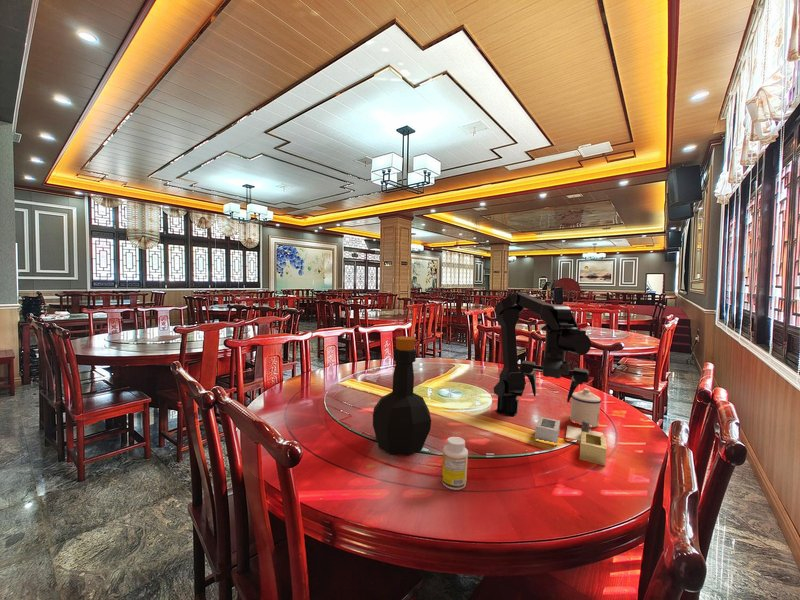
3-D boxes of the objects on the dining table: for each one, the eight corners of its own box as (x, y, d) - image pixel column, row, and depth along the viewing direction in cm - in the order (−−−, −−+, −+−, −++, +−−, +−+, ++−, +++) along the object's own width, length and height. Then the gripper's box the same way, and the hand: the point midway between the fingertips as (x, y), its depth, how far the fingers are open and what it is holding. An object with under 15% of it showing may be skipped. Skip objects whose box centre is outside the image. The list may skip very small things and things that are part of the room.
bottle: (363, 436, 105) (368, 333, 103) (416, 430, 110) (421, 332, 109) (380, 463, 90) (386, 343, 88) (439, 455, 96) (446, 342, 94)
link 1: (556, 446, 104) (557, 431, 104) (534, 441, 107) (535, 426, 107) (559, 435, 112) (560, 420, 112) (538, 430, 115) (539, 416, 115)
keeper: (565, 440, 108) (566, 423, 108) (567, 429, 117) (568, 413, 117) (603, 449, 104) (605, 431, 103) (602, 436, 113) (604, 420, 112)
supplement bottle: (449, 474, 86) (452, 432, 86) (470, 483, 83) (473, 440, 82) (436, 484, 82) (439, 440, 82) (457, 494, 79) (460, 448, 78)
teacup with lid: (604, 428, 119) (607, 394, 118) (576, 427, 119) (579, 392, 118) (586, 415, 131) (589, 383, 130) (561, 413, 131) (563, 381, 130)
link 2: (605, 465, 94) (606, 449, 94) (579, 459, 97) (580, 443, 97) (603, 451, 102) (605, 436, 102) (580, 446, 105) (581, 431, 105)
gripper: (518, 347, 105) (514, 400, 106) (591, 357, 97) (586, 414, 98) (523, 342, 115) (520, 390, 116) (590, 350, 107) (585, 402, 108)
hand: (551, 399), depth 109 cm, fingers open, 9 cm apart
